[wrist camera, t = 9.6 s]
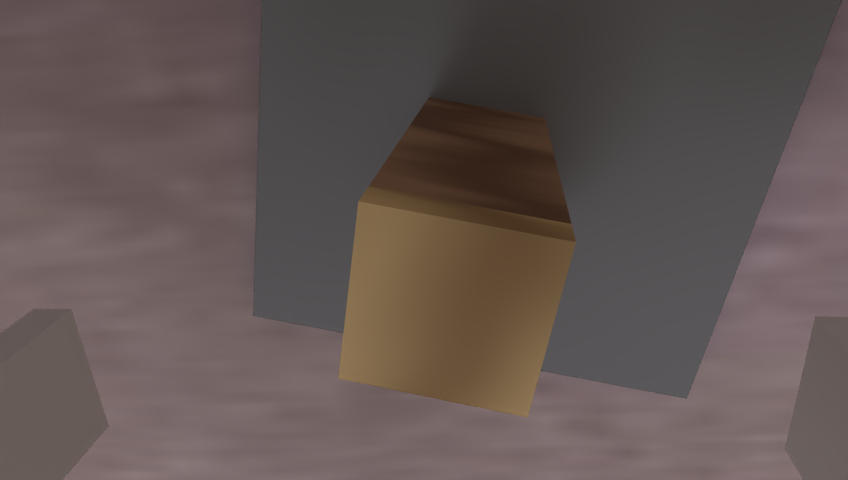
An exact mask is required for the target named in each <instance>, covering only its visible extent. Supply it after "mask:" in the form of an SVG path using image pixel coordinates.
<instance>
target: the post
mask: <svg viewBox="0 0 848 480" xmlns="http://www.w3.org/2000/svg"><path fill="white" fill-rule="evenodd" d="M575 244H576V240H575V236H574V232H573V228H572V224H571V220H570V216H569V212H568V208H567V204H566V200H565V196H564V192H563V188H562V184H561V180H560V176H559V172H558V168H557V164H556V160H555V156H554V152H553V148H552V144H551V140H550V136H549V132H548V128H547V124H546V119H545V118H543V117H537V116H532V115H526V114H520V113H515V112H509V111H503V110H498V109H492V108H486V107H481V106H475V105H469V104H464V103H458V102H452V101H447V100H441V99H435V98H430V97H429V98H428V99H427V101H426V102H425V104H424V105H423V107H422V108H421V110H420V111H419V113H418V114H417V116H416V117H415V119H414V120H413V121H412V123H411V124H410V126H409V127H408V129H407V130H406V132H405V133H404V135H403V136H402V138H401V139H400V141H399V142H398V144H397V145H396V147H395V148H394V149H393V151H392V152H391V154H390V155H389V157H388V158H387V160H386V161H385V163H384V164H383V166H382V167H381V169H380V170H379V172H378V173H377V175H376V176H375V177H374V179H373V180H372V182H371V183H370V185H369V186H368V188H367V189H366V191H365V192H364V194H363V195H362V197H361V198H360V200H359V201H358V209H357V218H356V226H355V235H354V244H353V253H352V262H351V271H350V280H349V289H348V298H347V307H346V315H345V324H344V333H343V342H342V351H341V360H340V369H339V379H343V380H348V381H353V382H358V383H363V384H368V385H373V386H377V387H382V388H387V389H392V390H397V391H402V392H407V393H412V394H416V395H421V396H426V397H431V398H436V399H441V400H446V401H450V402H455V403H460V404H465V405H470V406H475V407H480V408H485V409H489V410H494V411H499V412H504V413H509V414H514V415H519V416H523V417H528V414H529V411H530V407H531V404H532V400H533V396H534V393H535V389H536V385H537V382H538V378H539V375H540V371H541V367H542V364H543V360H544V356H545V353H546V349H547V346H548V342H549V338H550V335H551V331H552V328H553V324H554V320H555V317H556V313H557V309H558V306H559V302H560V299H561V295H562V291H563V288H564V284H565V280H566V277H567V273H568V270H569V266H570V262H571V259H572V255H573V252H574V248H575Z"/></svg>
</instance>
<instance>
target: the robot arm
mask: <svg viewBox="0 0 848 480" xmlns="http://www.w3.org/2000/svg"><path fill="white" fill-rule="evenodd" d="M108 426H109V425H108V422H107V419H106V416H105V413H104V410H103V406H102V403H101V400H100V397H99V394H98V391H97V388H96V385H95V382H94V379H93V375H92V372H91V369H90V366H89V363H88V360H87V357H86V354H85V351H84V347H83V344H82V341H81V338H80V335H79V332H78V329H77V326H76V323H75V320H74V316H73V313H72V310H71V309H33V310H32V311H31V312H29V313H28V314H26V315H25V316H24V317H22V318H21V319H20V320H18V321H17V322H15V323H14V324H13V325H11V326H10V327H9V328H7V329H6V330H4V331H3V332H2V333H0V480H63V478H64V477H65V476H66V475H67V474H68V473H69V471H70V470H71V469H72V468H73V467H74V466H75V464H76V463H77V462H78V461H79V460H80V459H81V457H82V456H83V455H84V454H85V453H86V452H87V450H88V449H89V448H90V447H91V446H92V445H93V443H94V442H95V441H96V440H97V439H98V438H99V436H100V435H101V434H102V433H103V432H104V431H105V429H106V428H107V427H108ZM785 450H786V452H787V453H788V455H789V457H790V458H791V460H792V462H793V463H794V465H795V467H796V468H797V470H798V472H799V473H800V475H801V477H802V478H803V480H848V317H815V321H814V325H813V329H812V334H811V338H810V342H809V347H808V351H807V355H806V360H805V364H804V368H803V373H802V377H801V382H800V386H799V390H798V395H797V399H796V403H795V408H794V412H793V416H792V421H791V425H790V429H789V434H788V438H787V442H786V447H785Z"/></svg>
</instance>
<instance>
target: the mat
mask: <svg viewBox="0 0 848 480" xmlns="http://www.w3.org/2000/svg"><path fill="white" fill-rule="evenodd" d="M840 3H841V0H262V18H261V54H260V91H259V127H258V163H257V199H256V235H255V272H254V308H253V316H257V317H262V318H268V319H273V320H278V321H283V322H288V323H294V324H299V325H304V326H309V327H315V328H320V329H325V330H330V331H336V332H341V333H344V324H345V315H346V307H347V298H348V289H349V280H350V271H351V262H352V253H353V244H354V235H355V226H356V218H357V209H358V201H359V200H360V198H361V197H362V195H363V194H364V192H365V191H366V189H367V188H368V186H369V185H370V183H371V182H372V180H373V179H374V177H375V176H376V175H377V173H378V172H379V170H380V169H381V167H382V166H383V164H384V163H385V161H386V160H387V158H388V157H389V155H390V154H391V152H392V151H393V149H394V148H395V147H396V145H397V144H398V142H399V141H400V139H401V138H402V136H403V135H404V133H405V132H406V130H407V129H408V127H409V126H410V124H411V123H412V121H413V120H414V119H415V117H416V116H417V114H418V113H419V111H420V110H421V108H422V107H423V105H424V104H425V102H426V101H427V99H428V98H429V97H430V98H435V99H441V100H447V101H452V102H458V103H464V104H469V105H475V106H481V107H486V108H492V109H498V110H503V111H509V112H515V113H520V114H526V115H532V116H537V117H543V118H545V119H546V124H547V128H548V132H549V136H550V140H551V144H552V148H553V152H554V156H555V160H556V164H557V168H558V172H559V176H560V180H561V184H562V188H563V192H564V196H565V200H566V204H567V208H568V212H569V216H570V220H571V224H572V228H573V232H574V236H575V240H576V244H575V248H574V252H573V255H572V259H571V262H570V266H569V270H568V273H567V277H566V280H565V284H564V288H563V291H562V295H561V299H560V302H559V306H558V309H557V313H556V317H555V320H554V324H553V328H552V331H551V335H550V338H549V342H548V346H547V349H546V353H545V356H544V360H543V364H542V367H541V371H545V372H550V373H555V374H561V375H566V376H571V377H576V378H581V379H587V380H592V381H597V382H602V383H608V384H613V385H618V386H623V387H629V388H634V389H639V390H644V391H650V392H655V393H660V394H665V395H670V396H676V397H681V398H686V399H687V396H688V394H689V391H690V389H691V386H692V383H693V381H694V378H695V376H696V373H697V371H698V368H699V365H700V363H701V360H702V358H703V355H704V353H705V350H706V347H707V345H708V342H709V340H710V337H711V335H712V332H713V329H714V327H715V324H716V322H717V319H718V317H719V314H720V311H721V309H722V306H723V304H724V301H725V299H726V296H727V293H728V291H729V288H730V286H731V283H732V281H733V278H734V275H735V273H736V270H737V268H738V265H739V263H740V260H741V257H742V255H743V252H744V250H745V247H746V245H747V242H748V239H749V237H750V234H751V232H752V229H753V227H754V224H755V221H756V219H757V216H758V214H759V211H760V209H761V206H762V203H763V201H764V198H765V196H766V193H767V191H768V188H769V185H770V183H771V180H772V178H773V175H774V173H775V170H776V167H777V165H778V162H779V160H780V157H781V155H782V152H783V149H784V147H785V144H786V142H787V139H788V137H789V134H790V131H791V129H792V126H793V124H794V121H795V119H796V116H797V114H798V111H799V108H800V106H801V103H802V101H803V98H804V96H805V93H806V90H807V88H808V85H809V83H810V80H811V78H812V75H813V72H814V70H815V67H816V65H817V62H818V60H819V57H820V54H821V52H822V49H823V47H824V44H825V42H826V39H827V36H828V34H829V31H830V29H831V26H832V24H833V21H834V18H835V16H836V13H837V11H838V8H839V6H840Z"/></svg>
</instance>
